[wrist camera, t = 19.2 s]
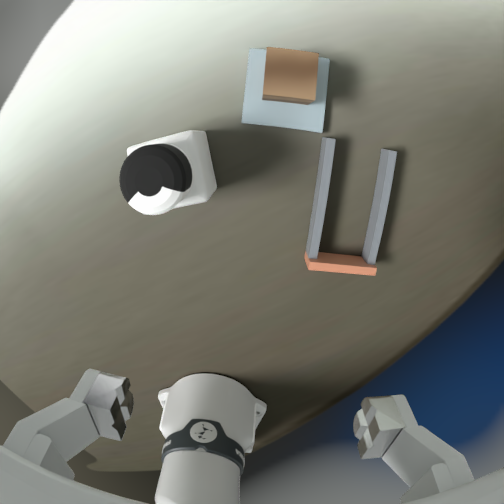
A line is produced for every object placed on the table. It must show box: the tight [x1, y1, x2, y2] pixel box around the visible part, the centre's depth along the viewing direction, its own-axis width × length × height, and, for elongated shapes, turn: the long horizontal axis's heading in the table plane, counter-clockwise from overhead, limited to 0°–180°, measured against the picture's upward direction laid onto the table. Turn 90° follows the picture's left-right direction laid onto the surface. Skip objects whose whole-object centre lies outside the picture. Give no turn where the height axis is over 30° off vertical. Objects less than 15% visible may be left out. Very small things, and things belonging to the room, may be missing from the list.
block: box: [262, 47, 319, 105], centre depth 28 cm, size 5×5×5 cm
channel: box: [305, 137, 397, 276], centre depth 35 cm, size 15×8×4 cm, turn 174°
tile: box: [242, 48, 330, 133], centre depth 31 cm, size 9×9×1 cm
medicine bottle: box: [120, 130, 217, 215], centre depth 29 cm, size 7×7×12 cm
